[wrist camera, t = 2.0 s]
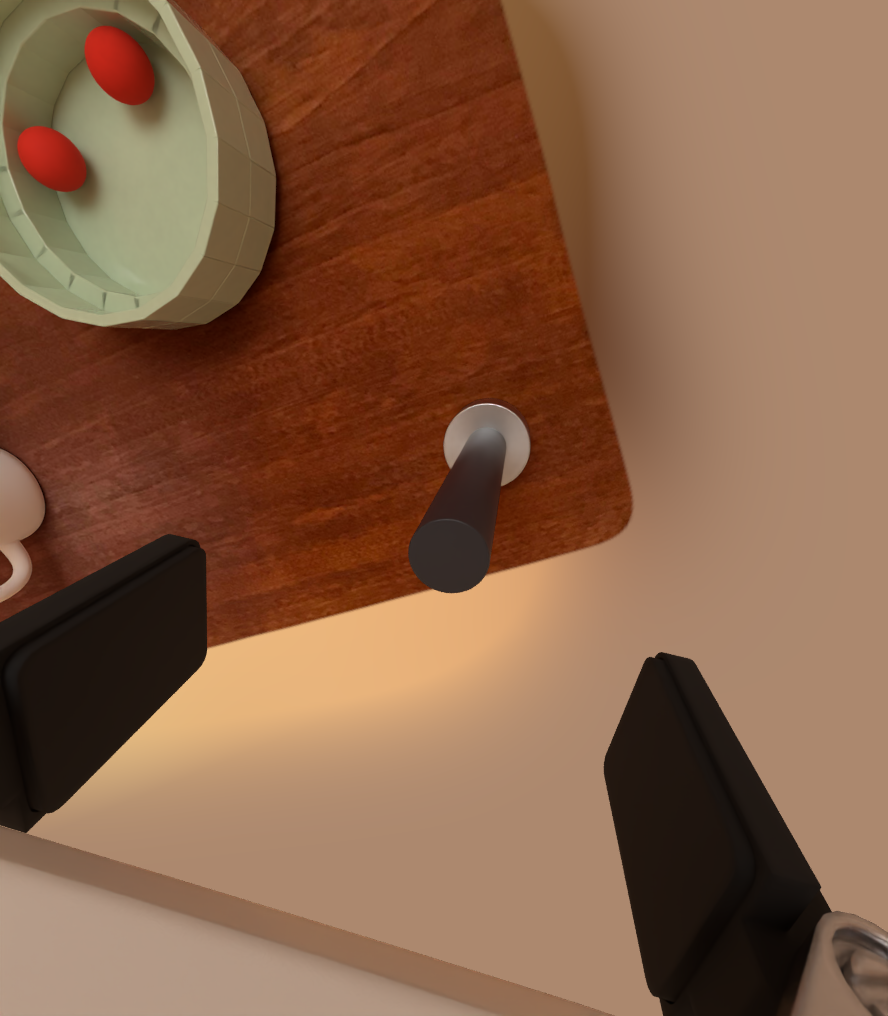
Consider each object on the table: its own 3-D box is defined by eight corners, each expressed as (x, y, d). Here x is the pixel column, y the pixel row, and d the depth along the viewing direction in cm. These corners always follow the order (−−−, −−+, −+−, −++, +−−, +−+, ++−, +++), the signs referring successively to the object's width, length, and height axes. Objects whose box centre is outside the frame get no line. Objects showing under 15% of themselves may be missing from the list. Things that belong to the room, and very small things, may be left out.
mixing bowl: (288, 28, 24) (216, -68, 18) (275, 349, 30) (219, 350, 24) (14, -9, 25) (-129, -108, 20) (54, 304, 31) (-48, 296, 26)
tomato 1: (96, 143, 27) (47, 119, 24) (101, 202, 28) (55, 186, 25) (51, 135, 27) (-3, 111, 24) (58, 194, 28) (7, 177, 25)
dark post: (538, 407, 28) (561, 493, 12) (519, 484, 30) (515, 651, 14) (457, 390, 29) (372, 452, 12) (443, 468, 31) (353, 610, 14)
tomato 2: (166, 51, 25) (120, 14, 22) (168, 119, 26) (125, 92, 23) (116, 44, 25) (64, 6, 22) (120, 111, 26) (72, 83, 23)
